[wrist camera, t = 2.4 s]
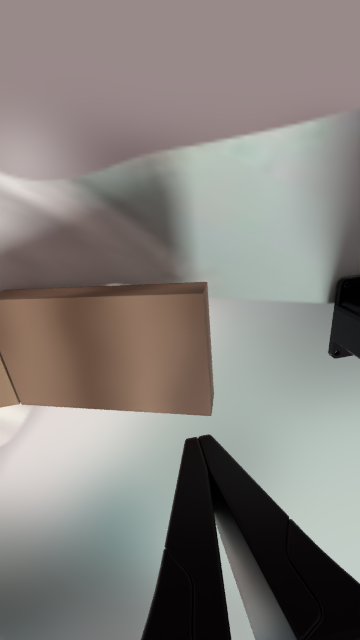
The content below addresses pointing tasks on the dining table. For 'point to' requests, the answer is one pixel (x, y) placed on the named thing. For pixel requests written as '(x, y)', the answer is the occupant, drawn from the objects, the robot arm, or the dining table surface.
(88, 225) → the dining table surface
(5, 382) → the oak plank
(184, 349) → the tan flat wooden block
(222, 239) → the dining table surface
